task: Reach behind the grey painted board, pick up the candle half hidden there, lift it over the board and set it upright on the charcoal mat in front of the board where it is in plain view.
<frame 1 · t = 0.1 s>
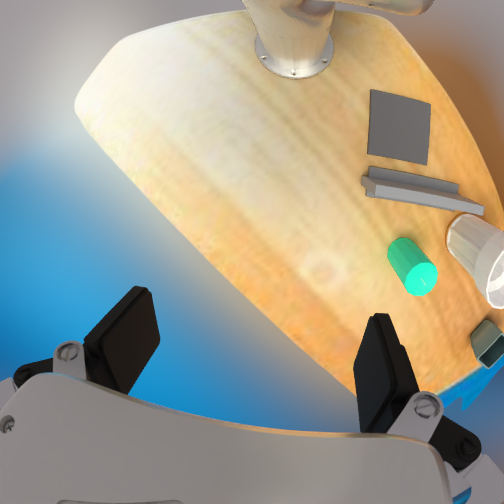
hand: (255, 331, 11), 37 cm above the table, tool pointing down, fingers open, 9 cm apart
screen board: (414, 188, 40), on the table
flower pot: (480, 329, 48), on the table
candle: (401, 252, 45), on the table
mat: (399, 127, 37), on the table
cup: (462, 234, 42), on the table
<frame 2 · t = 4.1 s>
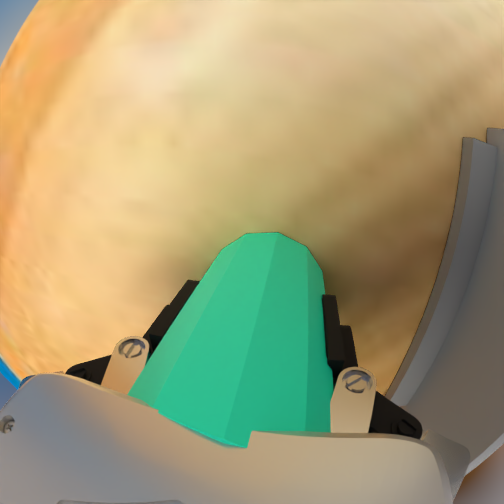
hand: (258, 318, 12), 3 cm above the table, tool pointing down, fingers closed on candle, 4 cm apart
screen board: (461, 298, 13), on the table
candle: (267, 283, 15), on the table, touching gripper
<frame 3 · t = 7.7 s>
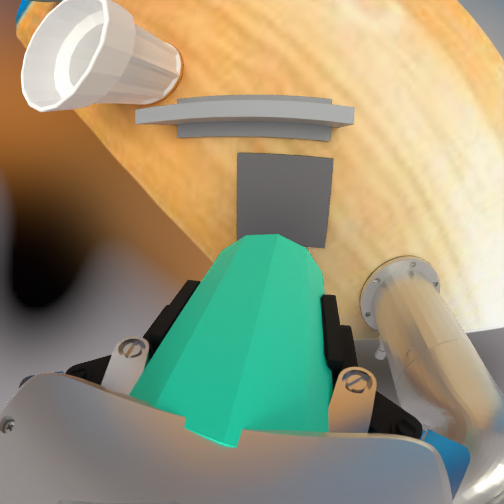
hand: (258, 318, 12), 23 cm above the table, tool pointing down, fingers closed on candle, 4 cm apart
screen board: (252, 116, 29), on the table
candle: (267, 285, 15), point 20 cm above the table, touching gripper
mat: (283, 199, 33), on the table
cup: (152, 73, 28), on the table
when the fingers open (5 cm above the table, at t = 11.6 s): candle drops 1 cm, resting on mat.
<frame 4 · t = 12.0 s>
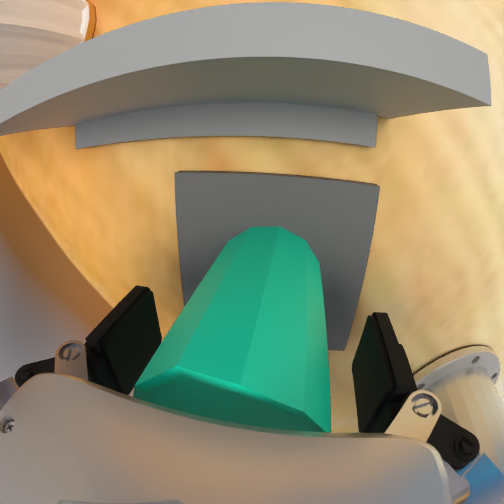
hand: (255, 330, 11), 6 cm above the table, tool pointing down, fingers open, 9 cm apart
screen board: (205, 93, 13), on the table
candle: (268, 273, 16), point 1 cm above the table, touching mat
mat: (271, 266, 17), on the table
cup: (57, 46, 12), on the table
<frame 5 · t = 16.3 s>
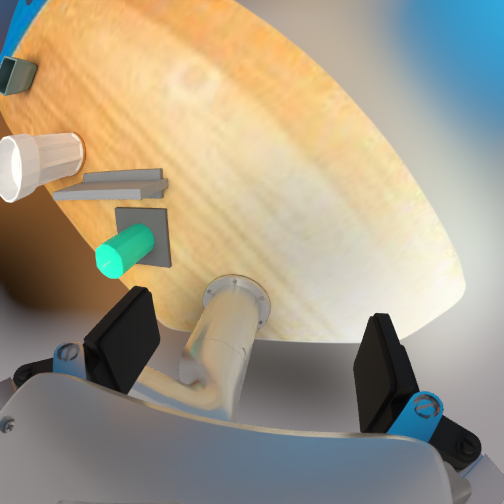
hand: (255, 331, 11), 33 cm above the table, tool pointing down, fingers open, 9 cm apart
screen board: (121, 183, 45), on the table
flower pot: (30, 75, 38), on the table
candle: (141, 238, 48), point 1 cm above the table, touching mat
mat: (143, 236, 49), on the table
cup: (72, 153, 45), on the table
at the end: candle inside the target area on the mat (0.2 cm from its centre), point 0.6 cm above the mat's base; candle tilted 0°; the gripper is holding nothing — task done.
